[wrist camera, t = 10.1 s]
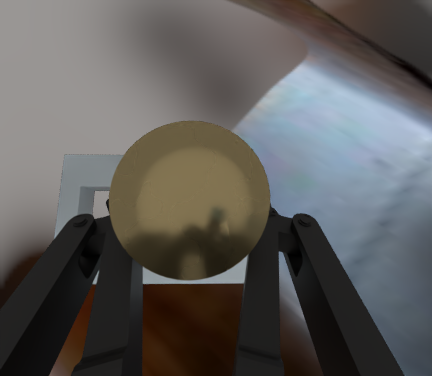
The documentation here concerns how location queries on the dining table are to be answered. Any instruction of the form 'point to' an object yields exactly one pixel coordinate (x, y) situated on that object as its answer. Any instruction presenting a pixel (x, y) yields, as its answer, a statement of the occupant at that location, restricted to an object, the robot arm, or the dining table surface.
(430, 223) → the dining table surface
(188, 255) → the brass sleeve
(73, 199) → the jig plate
